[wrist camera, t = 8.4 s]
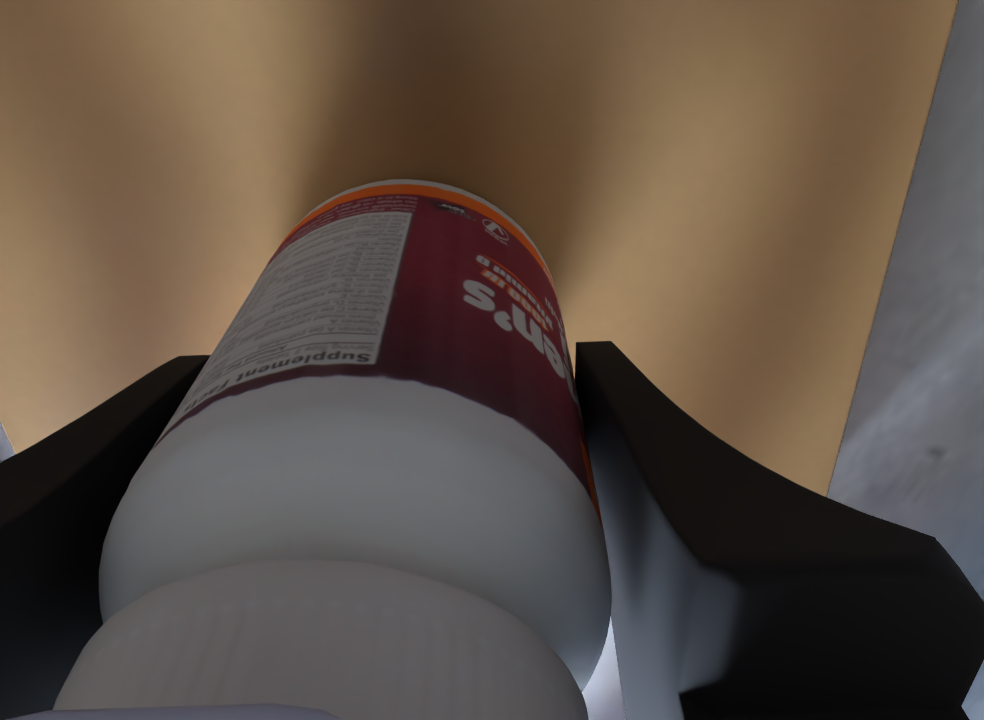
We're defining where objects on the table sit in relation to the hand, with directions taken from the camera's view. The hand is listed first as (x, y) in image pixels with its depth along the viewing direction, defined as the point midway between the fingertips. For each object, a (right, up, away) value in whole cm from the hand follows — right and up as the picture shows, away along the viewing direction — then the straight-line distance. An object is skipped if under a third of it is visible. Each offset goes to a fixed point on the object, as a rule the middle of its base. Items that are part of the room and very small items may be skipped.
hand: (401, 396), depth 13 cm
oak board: (0, +3, +4) cm, 5 cm away
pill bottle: (0, +2, +3) cm, 4 cm away
